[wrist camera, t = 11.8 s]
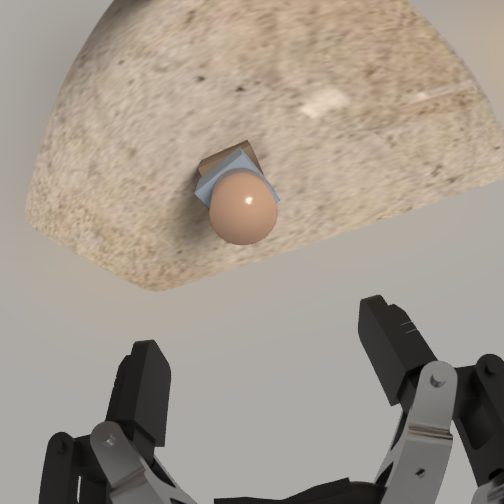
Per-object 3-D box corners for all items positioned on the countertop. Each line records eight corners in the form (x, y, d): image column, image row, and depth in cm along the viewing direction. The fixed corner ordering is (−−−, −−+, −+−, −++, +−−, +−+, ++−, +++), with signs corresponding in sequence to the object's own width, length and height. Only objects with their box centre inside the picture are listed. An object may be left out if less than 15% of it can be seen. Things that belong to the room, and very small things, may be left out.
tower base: (201, 160, 33) (197, 168, 28) (247, 140, 32) (250, 145, 28) (222, 202, 36) (221, 216, 31) (265, 183, 35) (272, 195, 31)
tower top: (198, 179, 29) (194, 193, 25) (239, 146, 28) (242, 154, 23) (231, 215, 31) (233, 235, 27) (271, 185, 30) (280, 200, 26)
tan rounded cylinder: (207, 173, 24) (202, 189, 20) (263, 163, 24) (272, 176, 20) (218, 224, 26) (217, 250, 22) (271, 215, 26) (280, 238, 22)
